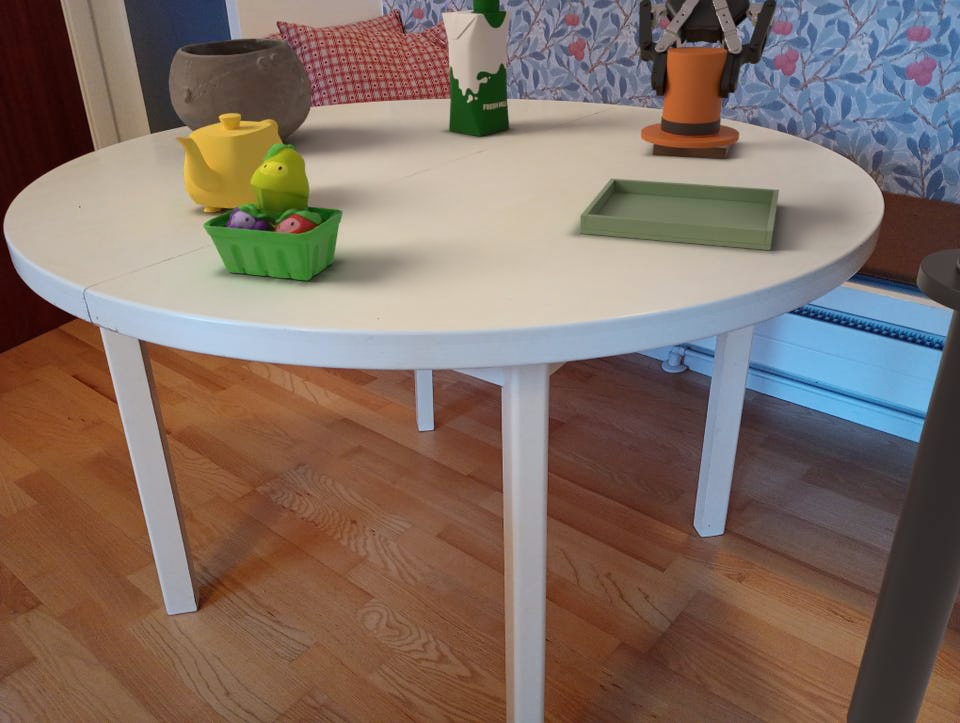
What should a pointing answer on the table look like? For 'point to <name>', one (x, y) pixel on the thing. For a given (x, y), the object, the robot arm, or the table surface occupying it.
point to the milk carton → (478, 68)
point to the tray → (683, 213)
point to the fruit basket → (277, 224)
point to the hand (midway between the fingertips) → (691, 91)
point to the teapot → (226, 160)
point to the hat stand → (692, 151)
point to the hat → (692, 101)
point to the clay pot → (240, 83)
